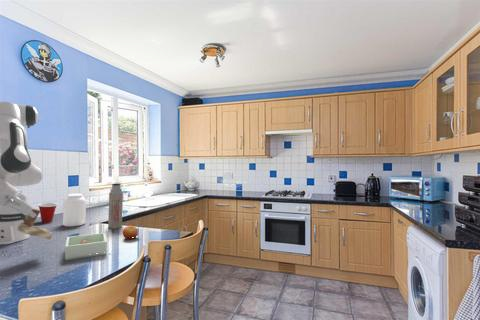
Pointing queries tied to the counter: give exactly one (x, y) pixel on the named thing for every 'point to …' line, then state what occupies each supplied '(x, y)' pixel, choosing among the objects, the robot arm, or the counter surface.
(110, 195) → the thermos bottle
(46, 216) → the plastic cup
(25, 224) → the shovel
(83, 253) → the bin
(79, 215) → the white jar
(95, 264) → the counter surface
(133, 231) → the fruit
